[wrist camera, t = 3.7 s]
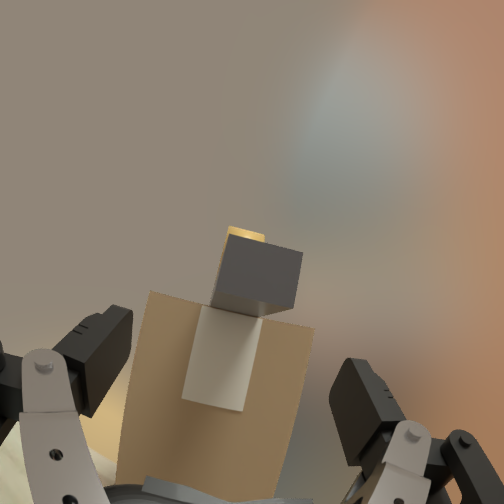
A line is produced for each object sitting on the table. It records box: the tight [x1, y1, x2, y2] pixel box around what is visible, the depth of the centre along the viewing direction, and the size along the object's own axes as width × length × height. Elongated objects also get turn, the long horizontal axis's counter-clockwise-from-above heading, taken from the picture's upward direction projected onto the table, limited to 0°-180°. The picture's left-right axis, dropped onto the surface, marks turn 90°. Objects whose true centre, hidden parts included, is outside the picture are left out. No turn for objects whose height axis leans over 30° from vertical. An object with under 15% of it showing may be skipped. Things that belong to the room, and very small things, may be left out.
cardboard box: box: [115, 291, 315, 502], centre depth 25 cm, size 13×14×32 cm
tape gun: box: [209, 226, 303, 317], centre depth 26 cm, size 22×4×10 cm, turn 10°
